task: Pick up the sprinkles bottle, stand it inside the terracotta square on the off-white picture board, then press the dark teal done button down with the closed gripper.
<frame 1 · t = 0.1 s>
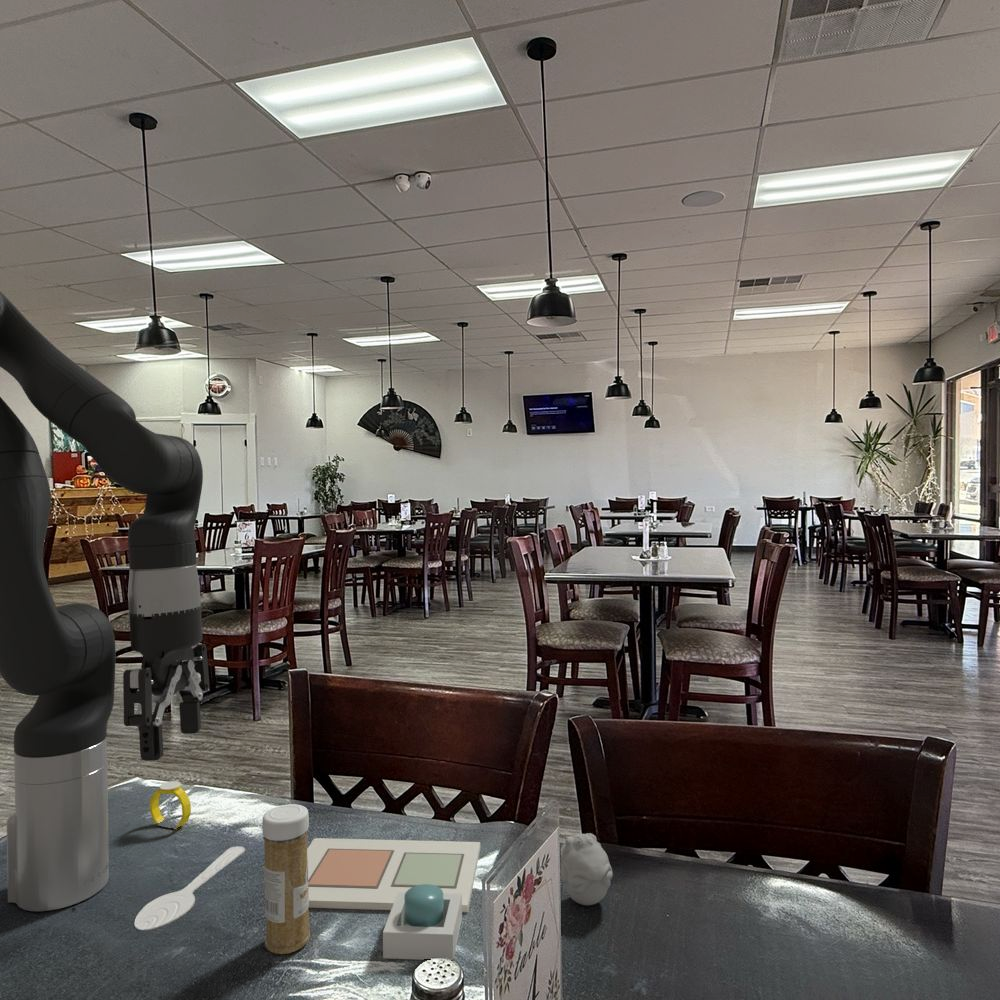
hand: (172, 745, 81), 17 cm above the table, tool pointing down, fingers open, 8 cm apart
watch: (170, 827, 98), on the table
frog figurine: (585, 902, 79), on the table
sprinkles bottle: (287, 943, 72), on the table
spoon: (195, 888, 83), on the table
picture board: (384, 875, 84), on the table
button housing: (424, 937, 72), on the table
done button: (424, 905, 72), point 3 cm above the table, slide at 0.0 cm
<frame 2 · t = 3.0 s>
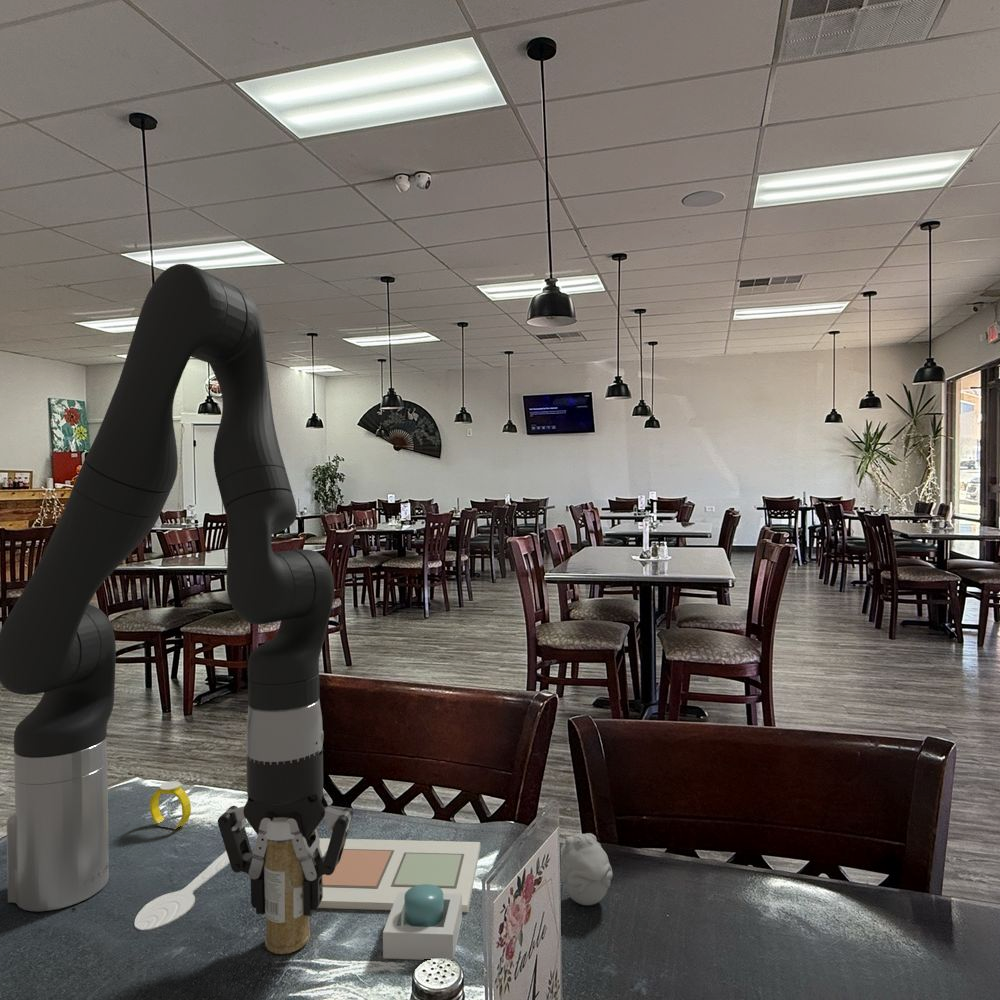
hand: (287, 909, 72), 3 cm above the table, tool pointing down, fingers closed on sprinkles bottle, 4 cm apart
sprinkles bottle: (287, 943, 72), on the table, touching gripper
everything else where it was.
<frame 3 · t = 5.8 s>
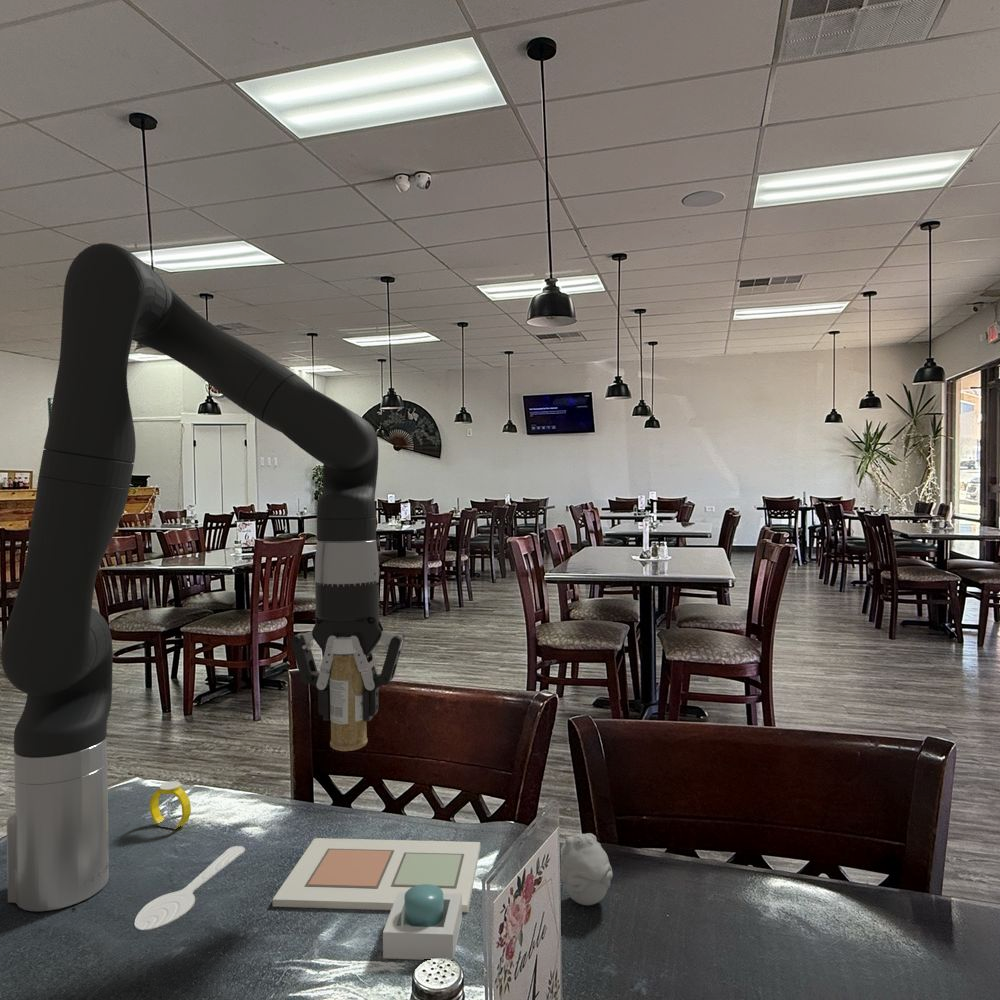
hand: (348, 718, 85), 19 cm above the table, tool pointing down, fingers closed on sprinkles bottle, 4 cm apart
sprinkles bottle: (348, 747, 85), point 15 cm above the table, touching gripper
everything else where it was.
when the fingers open (6 cm above the table, at t = 8.6 s): sprinkles bottle drops 1 cm, resting on picture board.
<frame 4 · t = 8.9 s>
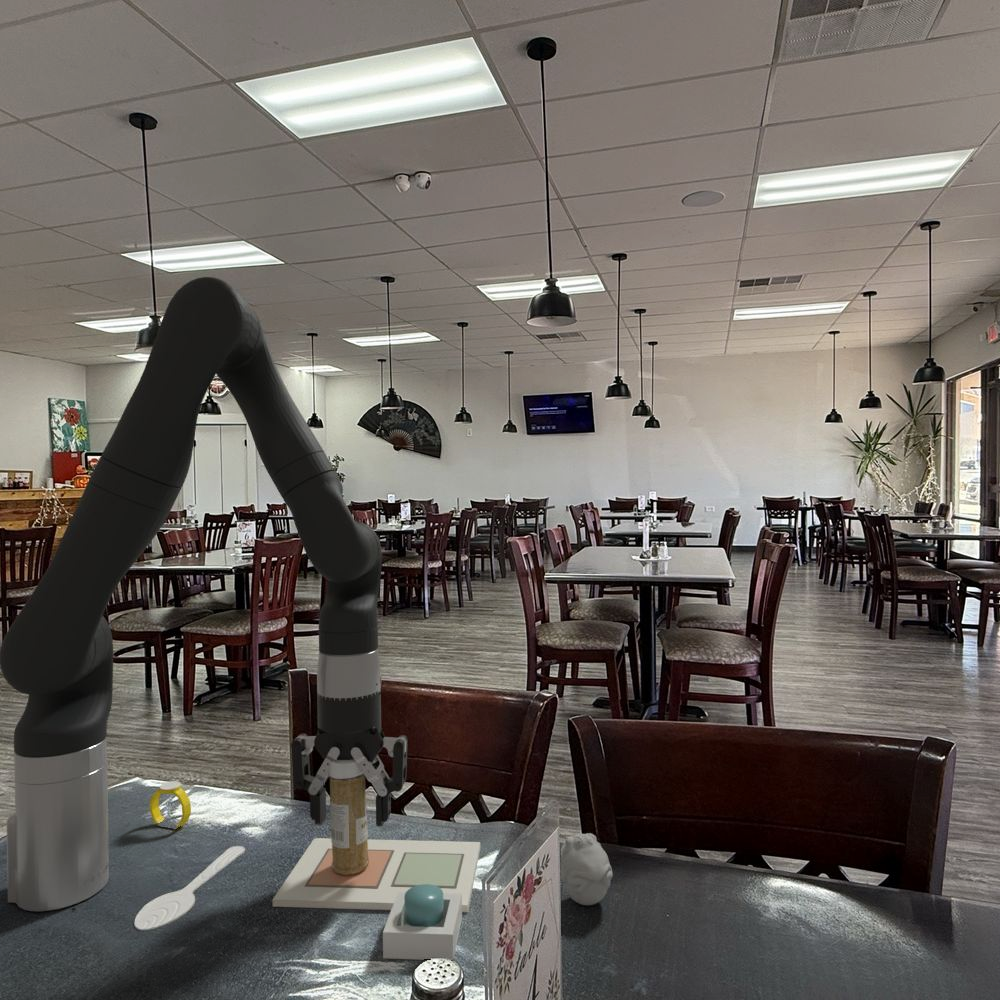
hand: (350, 822, 85), 6 cm above the table, tool pointing down, fingers open, 7 cm apart
sprinkles bottle: (350, 868, 85), point 1 cm above the table, touching picture board
everything else where it was.
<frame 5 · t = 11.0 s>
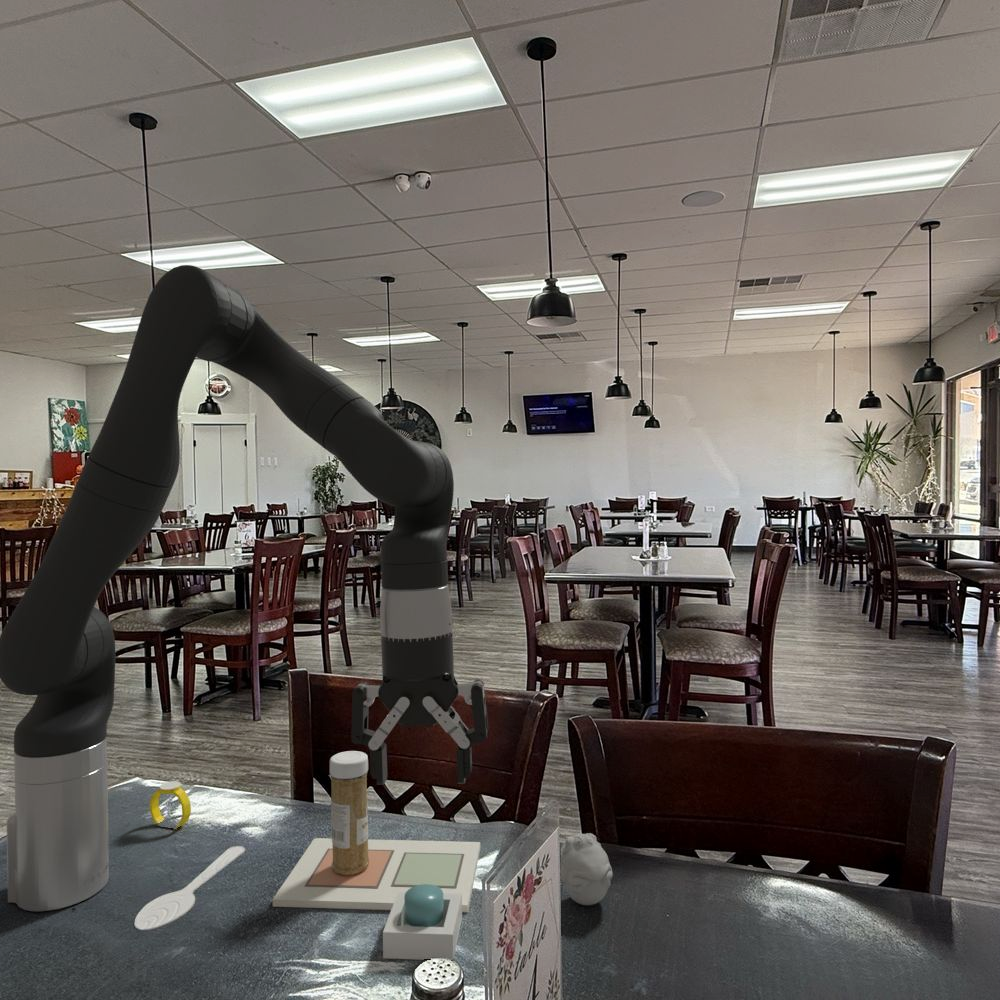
hand: (422, 781, 74), 16 cm above the table, tool pointing down, fingers open, 8 cm apart
nothing on the table moved.
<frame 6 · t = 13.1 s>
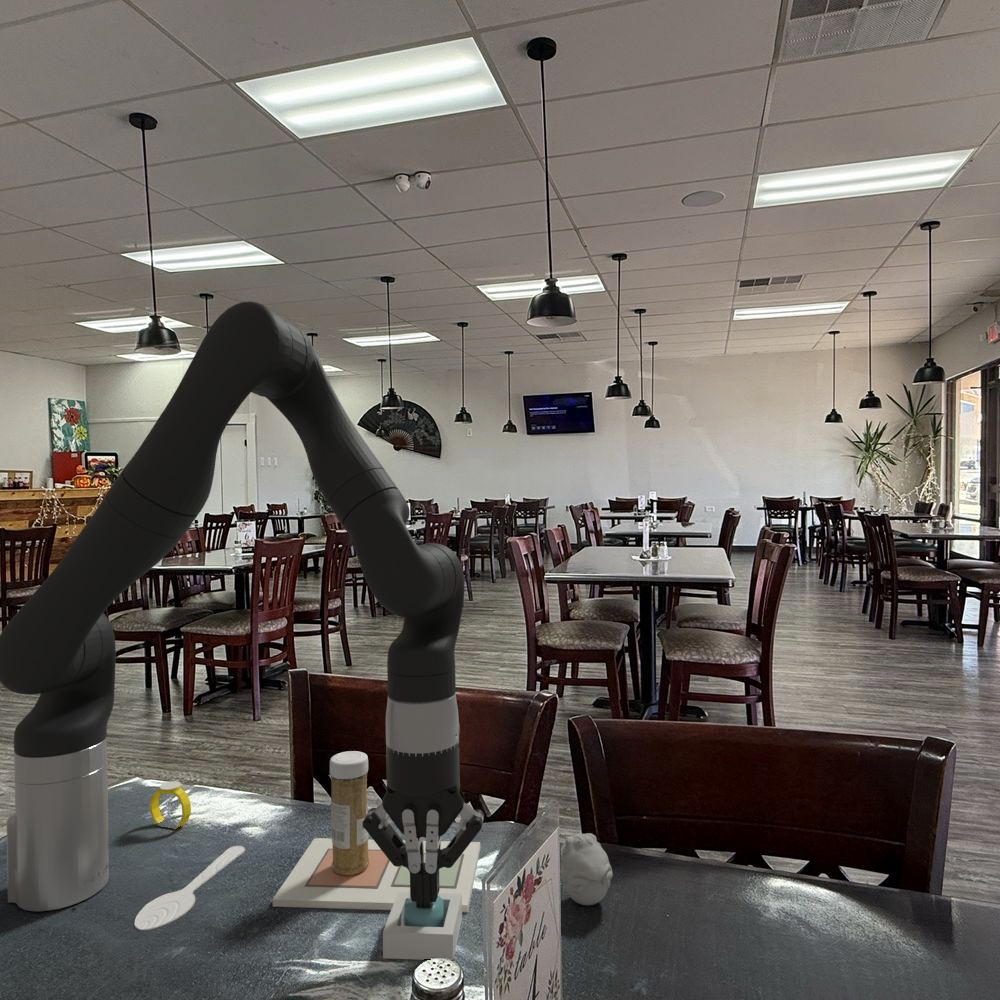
hand: (425, 903, 72), 3 cm above the table, tool pointing down, fingers closed
done button: (424, 914, 72), point 2 cm above the table, slide at 0.9 cm, touching gripper
everything else where it was.
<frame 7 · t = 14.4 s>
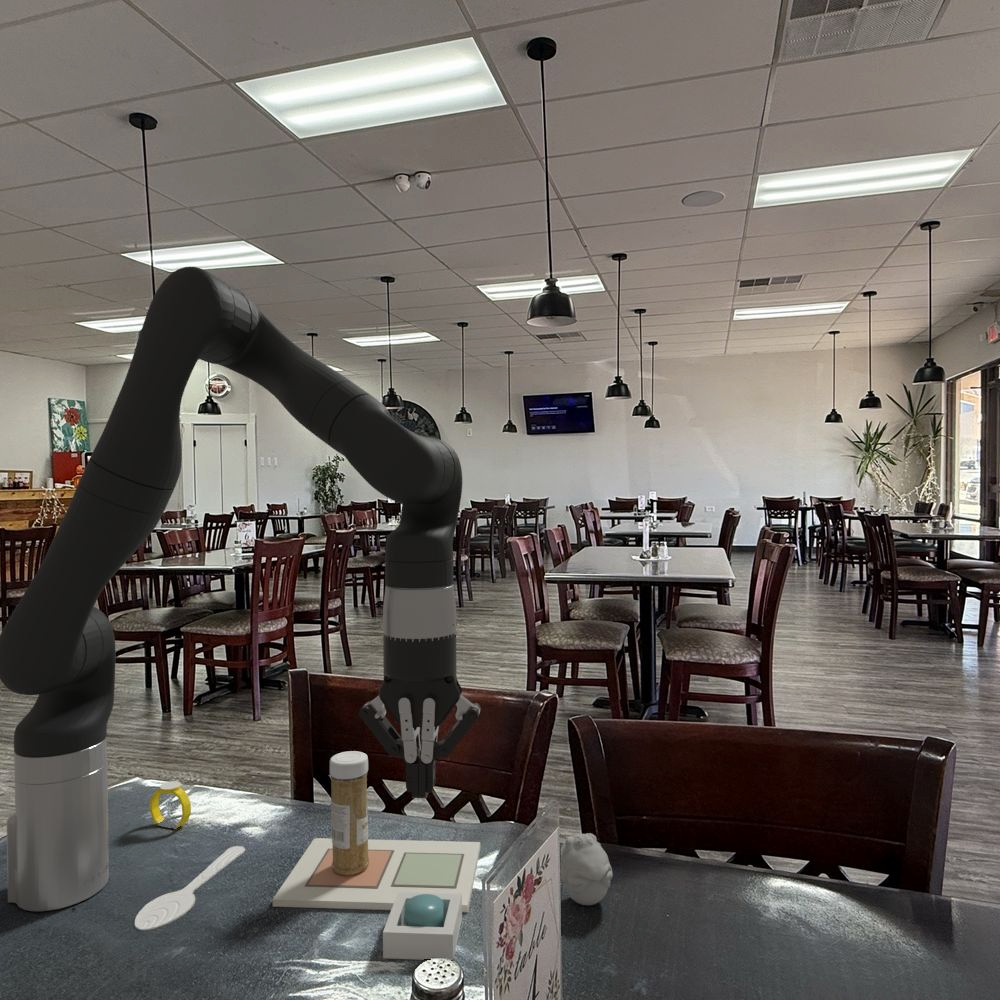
hand: (421, 795, 72), 15 cm above the table, tool pointing down, fingers closed
done button: (424, 915, 72), point 2 cm above the table, slide at 1.1 cm
everything else where it was.
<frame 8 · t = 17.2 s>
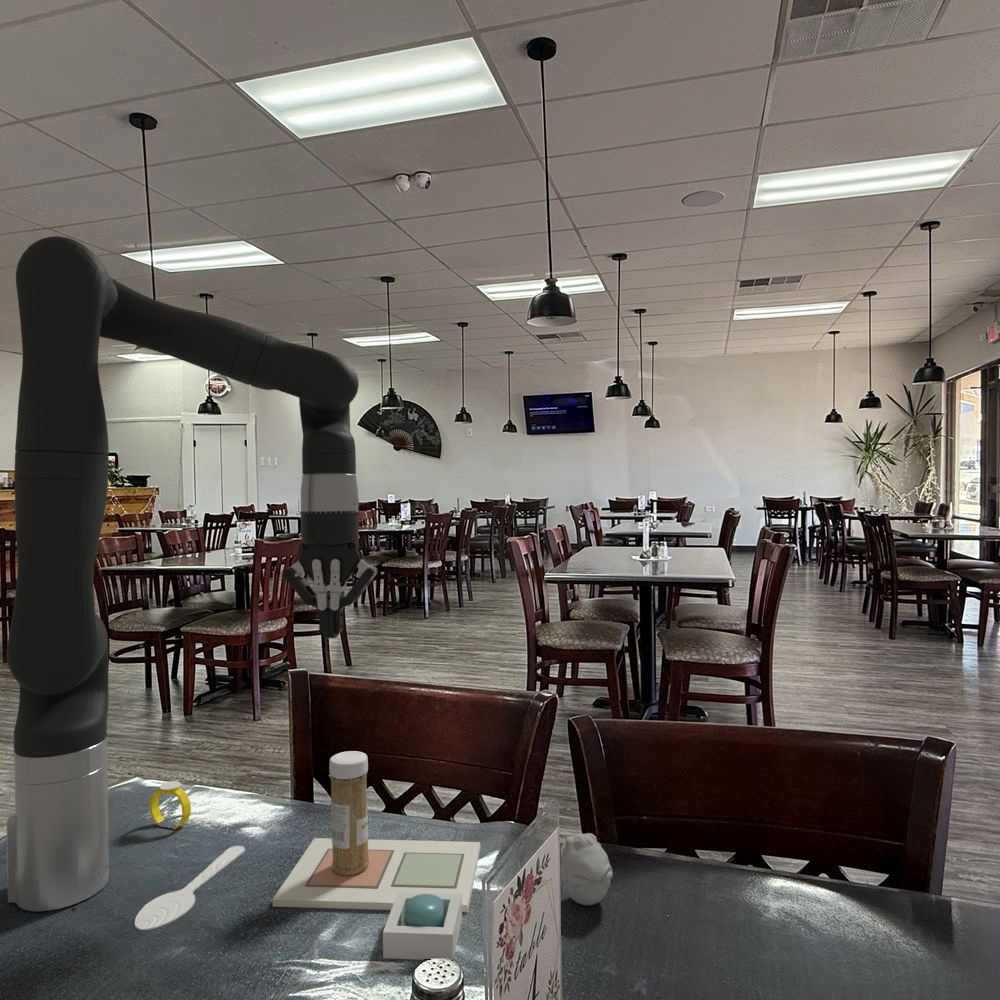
hand: (331, 637, 94), 27 cm above the table, tool pointing down, fingers closed
nothing on the table moved.
at the end: sprinkles bottle 0.2 cm from the target spot on the picture board, point 0.7 cm above the picture board's base; sprinkles bottle tilted 0°; done button slide at 1.1 cm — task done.
